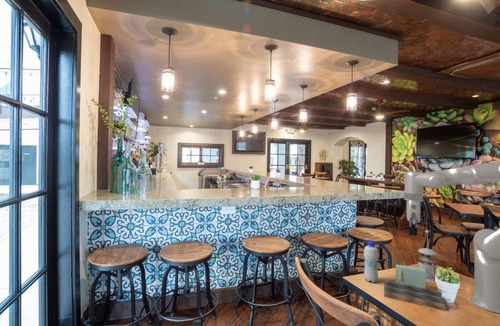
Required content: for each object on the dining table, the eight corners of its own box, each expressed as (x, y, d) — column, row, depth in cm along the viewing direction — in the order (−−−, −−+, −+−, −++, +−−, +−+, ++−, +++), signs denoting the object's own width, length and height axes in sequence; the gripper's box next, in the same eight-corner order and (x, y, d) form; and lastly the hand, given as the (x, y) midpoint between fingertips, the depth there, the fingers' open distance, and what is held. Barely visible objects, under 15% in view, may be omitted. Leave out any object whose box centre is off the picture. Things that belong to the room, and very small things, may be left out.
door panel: (424, 288, 120) (424, 269, 120) (425, 291, 117) (425, 272, 117) (395, 282, 126) (395, 264, 126) (396, 285, 123) (396, 266, 123)
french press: (411, 275, 134) (411, 228, 134) (427, 272, 137) (427, 226, 137) (429, 283, 124) (429, 233, 124) (446, 280, 128) (446, 231, 128)
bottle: (375, 278, 130) (375, 239, 130) (380, 284, 124) (380, 243, 124) (361, 277, 131) (361, 239, 131) (366, 283, 124) (366, 243, 124)
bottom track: (440, 296, 112) (440, 289, 112) (445, 310, 102) (445, 302, 102) (384, 285, 123) (384, 278, 123) (384, 296, 112) (384, 288, 112)
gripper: (425, 200, 111) (423, 239, 111) (420, 195, 126) (418, 229, 127) (405, 198, 114) (403, 235, 115) (403, 194, 130) (401, 227, 130)
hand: (411, 232), depth 121 cm, fingers open, 9 cm apart
